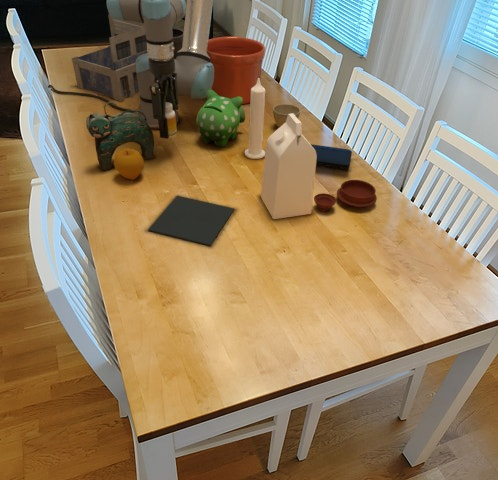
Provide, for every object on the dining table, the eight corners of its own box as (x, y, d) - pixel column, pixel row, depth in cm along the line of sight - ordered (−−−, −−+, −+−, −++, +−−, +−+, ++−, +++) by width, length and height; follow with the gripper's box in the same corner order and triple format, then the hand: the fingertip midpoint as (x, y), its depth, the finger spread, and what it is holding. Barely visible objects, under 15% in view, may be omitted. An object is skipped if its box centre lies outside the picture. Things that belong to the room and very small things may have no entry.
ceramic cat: (98, 173, 142) (85, 110, 129) (92, 164, 146) (78, 102, 133) (157, 159, 151) (151, 98, 137) (150, 151, 154) (142, 90, 141)
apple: (120, 168, 145) (115, 142, 139) (148, 170, 145) (145, 143, 139) (113, 183, 139) (108, 156, 132) (142, 185, 139) (138, 158, 132)
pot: (274, 98, 191) (278, 49, 178) (225, 111, 180) (225, 60, 167) (239, 80, 205) (240, 33, 192) (191, 91, 194) (189, 42, 181)
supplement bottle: (180, 132, 149) (177, 103, 142) (171, 139, 145) (168, 109, 139) (166, 129, 150) (163, 99, 144) (157, 135, 147) (153, 106, 140)
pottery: (382, 208, 134) (386, 195, 131) (323, 221, 128) (326, 208, 125) (361, 188, 142) (364, 175, 139) (304, 199, 136) (306, 187, 133)
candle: (267, 151, 157) (273, 76, 140) (261, 160, 152) (266, 83, 135) (248, 147, 159) (251, 72, 141) (241, 156, 154) (243, 80, 137)
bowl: (296, 135, 167) (298, 116, 162) (269, 132, 168) (271, 112, 163) (299, 124, 174) (302, 105, 169) (274, 120, 176) (275, 102, 171)
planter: (159, 62, 218) (156, 25, 207) (193, 67, 215) (191, 29, 204) (143, 74, 206) (139, 35, 195) (179, 79, 203) (176, 40, 192)
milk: (311, 213, 131) (324, 126, 113) (273, 219, 128) (281, 130, 110) (296, 191, 139) (307, 107, 121) (260, 196, 137) (265, 110, 119)
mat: (148, 231, 122) (147, 229, 122) (177, 196, 135) (177, 195, 134) (210, 246, 118) (210, 244, 118) (234, 209, 131) (234, 208, 131)
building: (120, 101, 183) (110, 38, 167) (78, 87, 192) (64, 26, 176) (158, 84, 198) (152, 24, 182) (117, 72, 207) (108, 14, 191)
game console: (350, 158, 156) (356, 132, 150) (347, 177, 147) (352, 150, 140) (305, 151, 159) (309, 125, 152) (299, 169, 149) (302, 143, 143)
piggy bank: (249, 134, 166) (251, 92, 156) (224, 154, 155) (224, 110, 144) (216, 125, 171) (215, 83, 161) (189, 143, 159) (187, 100, 149)
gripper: (158, 69, 124) (166, 148, 141) (186, 49, 137) (190, 123, 153) (133, 65, 126) (144, 144, 142) (163, 45, 139) (170, 120, 155)
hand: (168, 133), depth 148 cm, fingers closed on supplement bottle, 5 cm apart
